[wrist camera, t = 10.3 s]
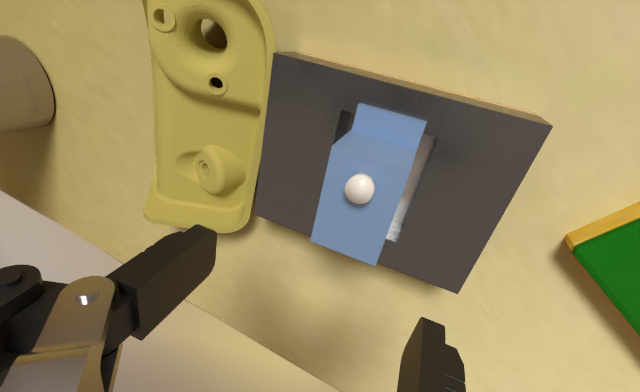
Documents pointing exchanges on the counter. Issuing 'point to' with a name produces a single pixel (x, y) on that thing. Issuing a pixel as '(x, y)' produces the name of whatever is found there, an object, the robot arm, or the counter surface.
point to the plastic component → (207, 111)
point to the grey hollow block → (427, 169)
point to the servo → (366, 182)
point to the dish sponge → (613, 258)
